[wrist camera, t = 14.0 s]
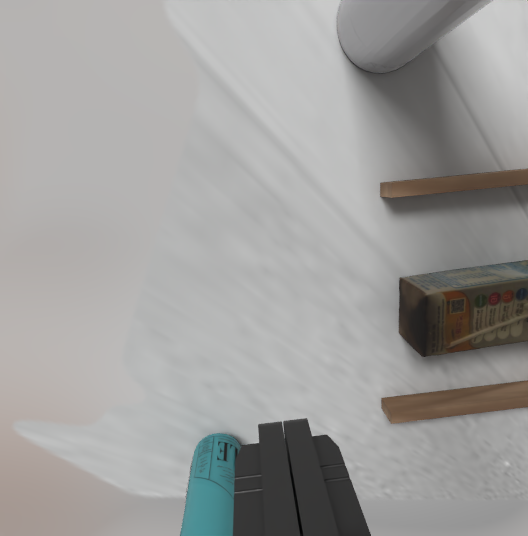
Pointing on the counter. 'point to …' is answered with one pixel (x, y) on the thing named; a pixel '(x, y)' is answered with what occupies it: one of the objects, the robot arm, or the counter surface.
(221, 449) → the beverage bottle
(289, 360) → the counter surface
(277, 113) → the counter surface
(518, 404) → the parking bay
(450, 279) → the beverage carton
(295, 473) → the robot arm
